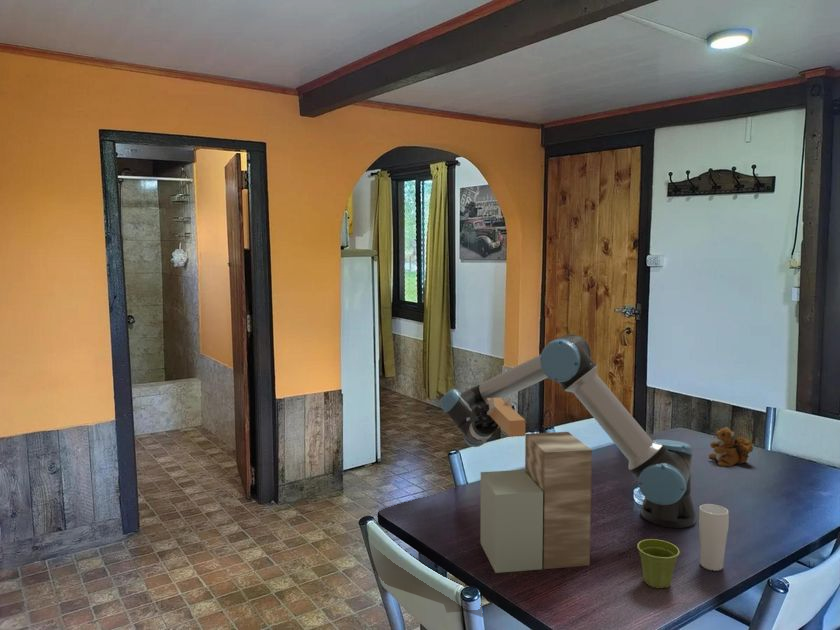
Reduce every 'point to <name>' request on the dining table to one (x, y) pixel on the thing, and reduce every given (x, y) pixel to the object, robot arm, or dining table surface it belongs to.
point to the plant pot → (657, 561)
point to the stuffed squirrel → (730, 448)
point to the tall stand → (562, 496)
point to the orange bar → (507, 418)
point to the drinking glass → (713, 535)
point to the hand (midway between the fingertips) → (501, 403)
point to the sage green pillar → (511, 520)
